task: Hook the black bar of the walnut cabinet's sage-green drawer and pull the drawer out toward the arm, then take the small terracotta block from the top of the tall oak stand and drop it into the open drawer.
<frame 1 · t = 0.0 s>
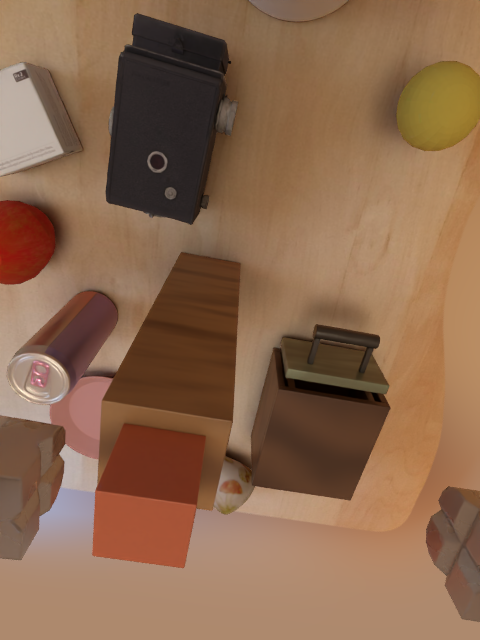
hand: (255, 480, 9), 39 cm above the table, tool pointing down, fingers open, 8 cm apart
camera: (181, 131, 41), on the table
block: (161, 460, 23), point 28 cm above the table, touching stand
drawer: (322, 390, 49), point 5 cm above the table, slide at 1.0 cm
apple: (33, 231, 46), on the table
beverage can: (95, 310, 50), on the table
yellow rounded piece: (408, 111, 40), on the table
small box: (34, 123, 41), on the table
plate: (107, 411, 57), on the table
mug: (219, 459, 60), on the table
cabinet: (306, 401, 55), on the table
stand: (206, 285, 48), on the table
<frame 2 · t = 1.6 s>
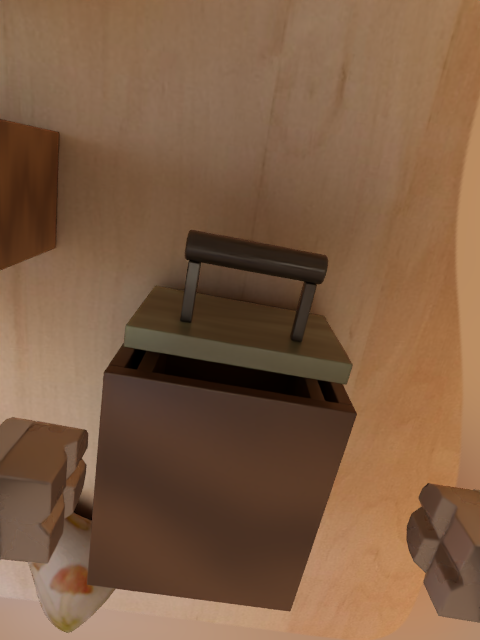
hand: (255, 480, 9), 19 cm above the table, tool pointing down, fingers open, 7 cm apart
drawer: (227, 385, 25), point 5 cm above the table, slide at 1.0 cm
mug: (77, 521, 35), on the table
cabinet: (217, 414, 31), on the table
stand: (0, 181, 25), on the table
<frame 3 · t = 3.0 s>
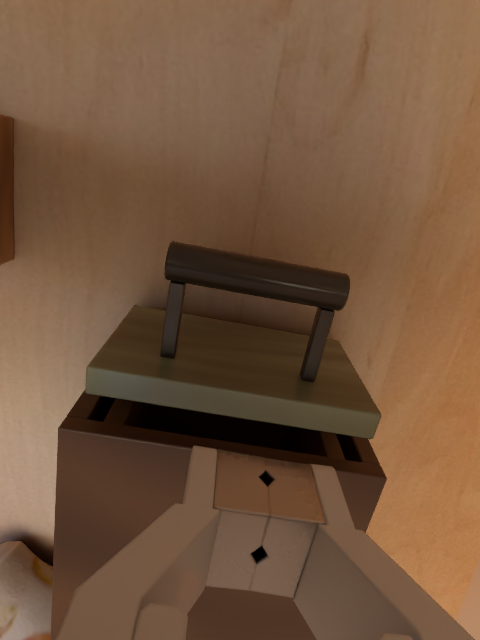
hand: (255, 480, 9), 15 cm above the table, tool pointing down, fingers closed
drawer: (222, 428, 20), point 5 cm above the table, slide at 1.0 cm
mug: (51, 570, 30), on the table
cabinet: (211, 452, 26), on the table
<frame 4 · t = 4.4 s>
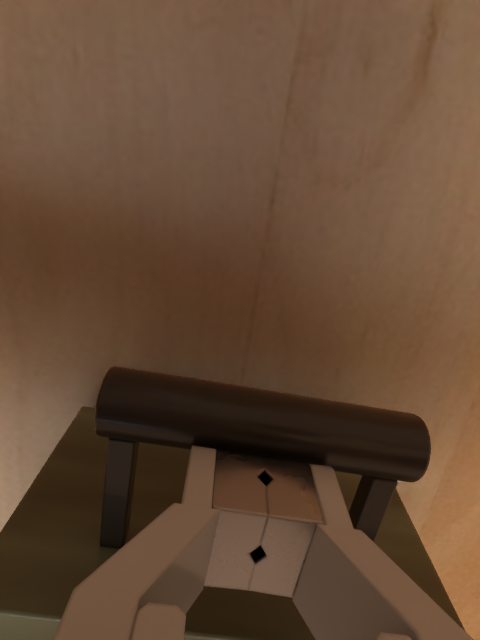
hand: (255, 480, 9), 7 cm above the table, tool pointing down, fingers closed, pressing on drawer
drawer: (209, 603, 13), point 5 cm above the table, slide at 1.2 cm, touching gripper
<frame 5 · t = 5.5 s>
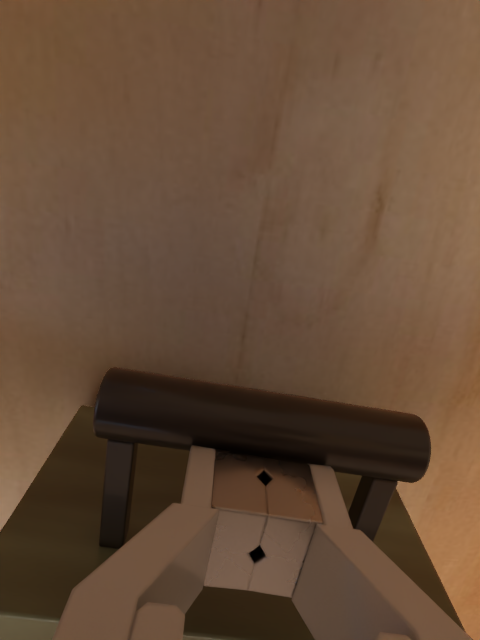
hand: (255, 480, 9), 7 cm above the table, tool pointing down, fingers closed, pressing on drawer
drawer: (209, 601, 13), point 5 cm above the table, slide at 6.2 cm, touching gripper
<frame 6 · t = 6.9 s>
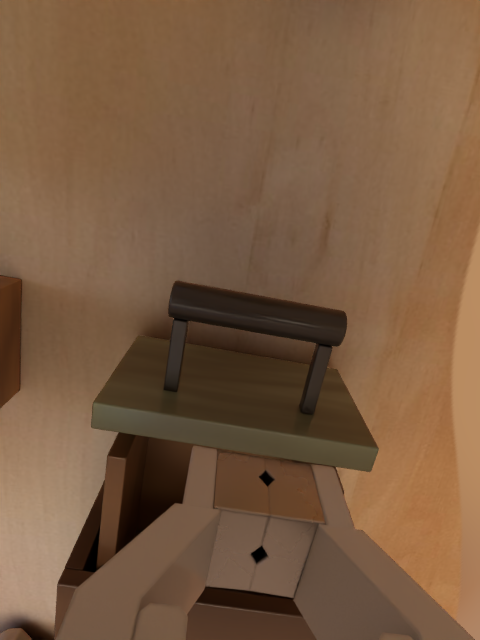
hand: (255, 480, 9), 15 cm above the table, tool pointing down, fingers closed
drawer: (223, 457, 21), point 5 cm above the table, slide at 7.3 cm
cabinet: (197, 549, 28), on the table
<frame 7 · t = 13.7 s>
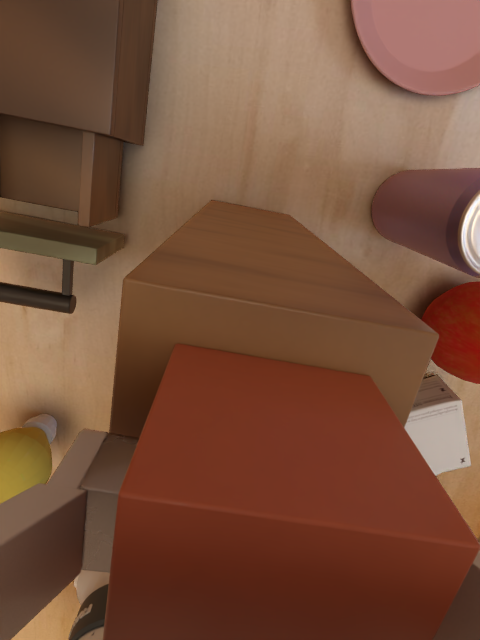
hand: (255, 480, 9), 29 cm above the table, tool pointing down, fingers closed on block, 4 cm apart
block: (255, 441, 10), point 28 cm above the table, touching gripper, stand
drawer: (39, 184, 30), point 5 cm above the table, slide at 7.3 cm
apple: (447, 313, 38), on the table
beverage can: (402, 206, 35), on the table
yellow rounded piece: (46, 422, 43), on the table
small box: (404, 413, 42), on the table
cabinet: (70, 25, 30), on the table
stand: (243, 247, 36), on the table
when the fingers open (10 cm above the table, at t = 20.8 s): block drops 6 cm, resting on drawer.
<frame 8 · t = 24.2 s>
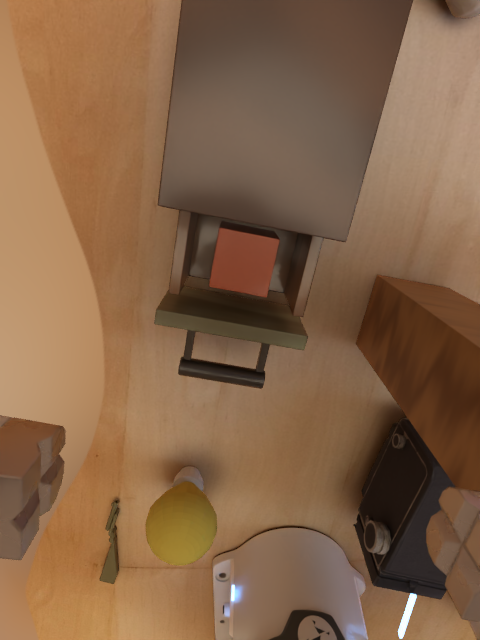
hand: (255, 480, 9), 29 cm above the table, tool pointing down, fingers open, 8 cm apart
camera: (397, 460, 44), on the table
block: (243, 252, 34), point 2 cm above the table, touching drawer
drawer: (240, 270, 32), point 5 cm above the table, slide at 7.3 cm, touching block
yellow rounded piece: (190, 473, 44), on the table
toy shotgun: (115, 537, 47), on the table
cabinet: (267, 120, 32), on the table
stand: (401, 316, 38), on the table
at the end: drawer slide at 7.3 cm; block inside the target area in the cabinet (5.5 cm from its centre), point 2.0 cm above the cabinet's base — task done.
